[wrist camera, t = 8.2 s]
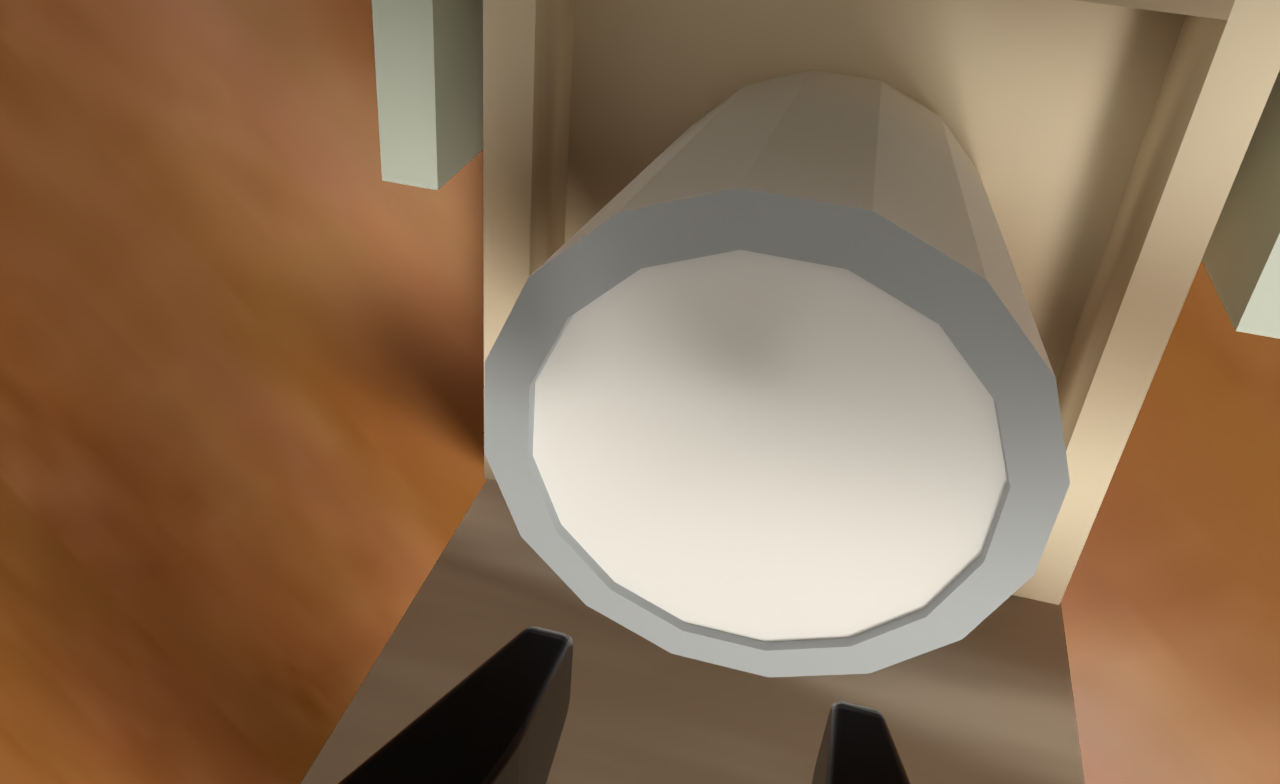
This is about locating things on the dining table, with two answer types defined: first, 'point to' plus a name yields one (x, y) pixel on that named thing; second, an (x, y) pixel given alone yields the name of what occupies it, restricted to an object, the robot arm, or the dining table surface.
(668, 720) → the drawer
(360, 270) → the dining table surface
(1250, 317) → the caddy
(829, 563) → the grey and white tumbler
